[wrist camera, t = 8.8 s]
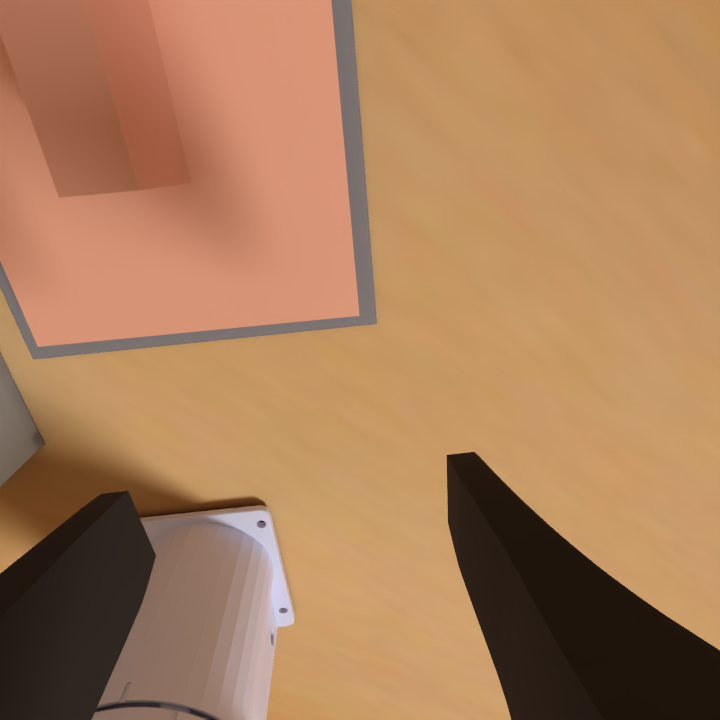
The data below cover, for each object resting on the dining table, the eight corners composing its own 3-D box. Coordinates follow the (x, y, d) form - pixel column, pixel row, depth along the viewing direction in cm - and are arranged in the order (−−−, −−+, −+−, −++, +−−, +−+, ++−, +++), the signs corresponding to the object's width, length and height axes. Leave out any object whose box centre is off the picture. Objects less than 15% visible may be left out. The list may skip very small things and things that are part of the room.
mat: (376, 321, 19) (376, 324, 19) (37, 356, 19) (33, 359, 19) (320, -377, 11) (320, -391, 11) (-269, -323, 11) (-284, -335, 11)
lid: (357, 303, 18) (366, 360, 13) (61, 332, 18) (-51, 401, 13) (302, -301, 11) (273, -705, 6) (-179, -261, 11) (-639, -639, 6)
